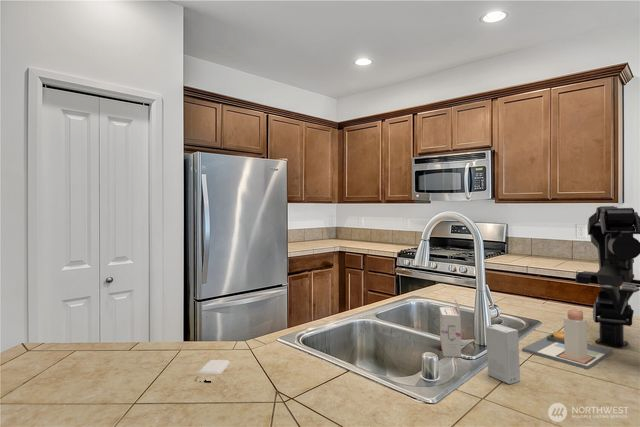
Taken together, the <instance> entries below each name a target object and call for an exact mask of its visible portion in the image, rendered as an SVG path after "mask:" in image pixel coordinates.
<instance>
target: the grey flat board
mask: <svg viewBox="0 0 640 427" xmlns="http://www.w3.org/2000/svg"><path fill="white" fill-rule="evenodd" d="M521 351H522V352H524V353H529V354H532V355H534V356H535V355H536V356H539V357H543V358H546V359H549V360H553V361H557V362H560V363H562V364H563V363H564V364H568V365H571V366H575V367H579V368H582V369H585V370H588V369H590V368H592V367H593V366H595V365H596V364H597V363H599V362H601V361H602V360H603V359H605V358H607V357H608V356H609V355H610V354H611V355H612V354H613V349H612V348H607V347H603V346H600V345H596V344H591V343H587V358H585V359H581V360H576V359H573V358H570V357H567V356H565V346H564V340H562V339H558V338H554V337H553V333H551V334H549V335H546V336H545V337H543V338H541V339H538V340H536V341H534V342H532V343H530V344H528V345H526V346H523V347H522V348H521Z"/></svg>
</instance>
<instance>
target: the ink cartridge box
mask: <svg viewBox="0 0 640 427" xmlns="http://www.w3.org/2000/svg"><path fill="white" fill-rule="evenodd" d="M454 303H455V304H454V305H455V307H450V306H448V307H447V306H446V307H444V306H443V307H442V306H441V307H440V306H439V329H440V330H439V333H440V334H439V337H440V340H439V342H440V344H439V345H440V348H441V351H442V355H443V357H447V358H450V357H452V358H453V357H454V358H461V357H462V331H461V328H462V327H461V323H462V322H461V311H460V309H461V308H460V303H459V302H458V300H457V298H456V297H454Z"/></svg>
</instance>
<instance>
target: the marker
mask: <svg viewBox="0 0 640 427" xmlns="http://www.w3.org/2000/svg"><path fill="white" fill-rule="evenodd" d="M563 322H564V323H563V325H564V326H563V329H564V330H563V332H564V346H565V356H567V357H570V358H573V359H576V360H581V359H585V358H587V344H588V320H587V319H585V318H584V312H583V310H579V309H578V310H577V309H568V310H567V317H564V318H563Z"/></svg>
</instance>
